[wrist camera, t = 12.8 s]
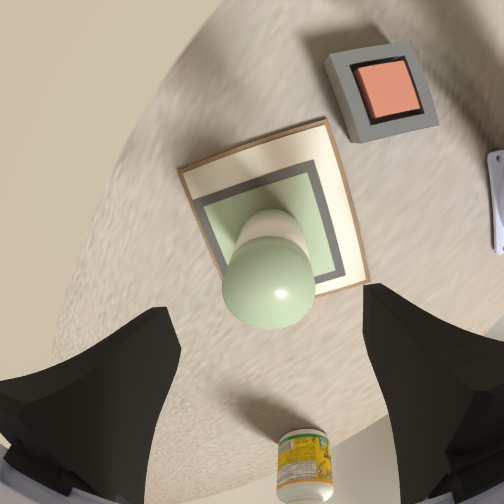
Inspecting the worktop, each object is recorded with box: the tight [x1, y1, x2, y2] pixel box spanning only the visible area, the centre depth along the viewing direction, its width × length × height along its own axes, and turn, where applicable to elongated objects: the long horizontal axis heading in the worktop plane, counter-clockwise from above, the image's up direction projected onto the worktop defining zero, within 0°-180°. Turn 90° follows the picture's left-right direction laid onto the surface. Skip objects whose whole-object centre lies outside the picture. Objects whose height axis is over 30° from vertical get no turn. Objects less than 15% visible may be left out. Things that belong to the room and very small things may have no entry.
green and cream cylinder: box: [222, 209, 316, 330], centre depth 16 cm, size 4×4×6 cm
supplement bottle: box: [277, 429, 333, 504], centre depth 23 cm, size 5×5×10 cm
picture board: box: [177, 119, 371, 299], centre depth 19 cm, size 10×11×1 cm
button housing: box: [323, 41, 439, 143], centre depth 14 cm, size 5×5×2 cm
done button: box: [353, 61, 420, 119], centre depth 13 cm, size 3×3×1 cm
